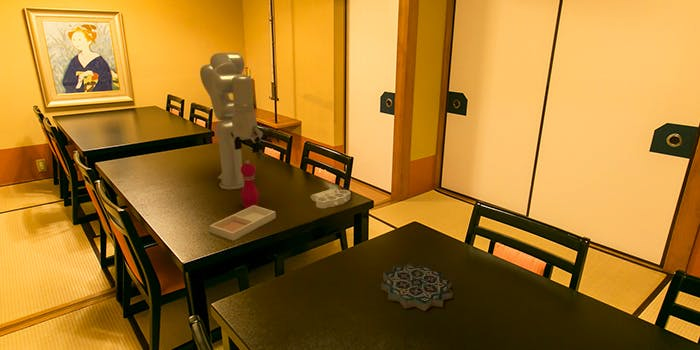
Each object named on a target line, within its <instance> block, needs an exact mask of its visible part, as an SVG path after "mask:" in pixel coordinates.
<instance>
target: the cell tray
mask: <svg viewBox="0 0 700 350" xmlns="http://www.w3.org/2000/svg"><path fill="white" fill-rule="evenodd" d="M276 217H277V214H276V211H275V210H271V209H267V208H264V207H261V206H259V205H257V206H255V205H253V206H251V207H249V208H246V207H245V208H244V209H243V210H239V211H238V212H236V213H234V214H231V215H230V216H227V217H225V218H223V219H221V220H218V221H216V222H214V223H212V224H210V225H209V233H210V234H212V235H215V236H218V237H221V238H223V239H226V240H229V241H232V242H234V241H237V240H238V239H241V238H242V237H244V236H246V235H248V234H249V233H252V232H253V231H255V230H257V229H260V227H262V226H264V225H266V224H268V223H270V222H272V221H274V220H275V219H276Z"/></svg>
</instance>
